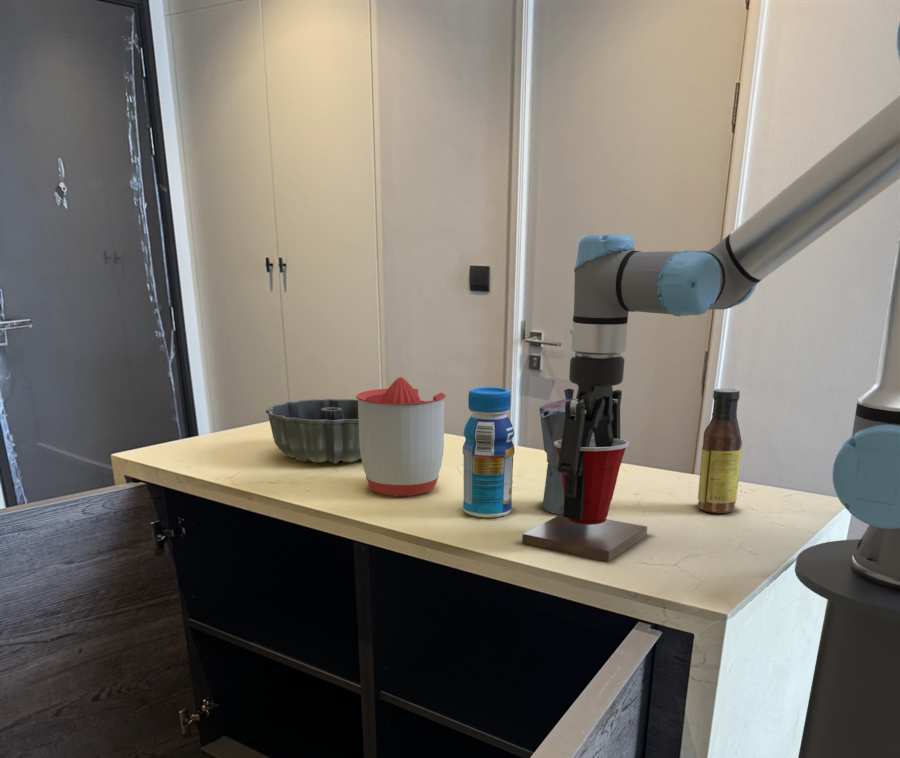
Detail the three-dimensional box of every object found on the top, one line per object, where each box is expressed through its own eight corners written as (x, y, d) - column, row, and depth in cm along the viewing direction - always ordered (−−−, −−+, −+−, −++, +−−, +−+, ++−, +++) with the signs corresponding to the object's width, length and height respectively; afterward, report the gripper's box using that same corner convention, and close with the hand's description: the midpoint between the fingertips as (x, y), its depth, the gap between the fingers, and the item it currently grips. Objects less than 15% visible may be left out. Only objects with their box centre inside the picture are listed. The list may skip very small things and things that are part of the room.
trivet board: (646, 535, 133) (647, 526, 132) (608, 561, 122) (609, 551, 121) (565, 520, 140) (565, 511, 139) (522, 543, 129) (522, 533, 128)
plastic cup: (601, 505, 136) (607, 430, 131) (636, 525, 126) (643, 444, 122) (538, 512, 133) (541, 434, 128) (569, 533, 123) (574, 450, 119)
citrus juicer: (469, 486, 159) (470, 375, 151) (402, 506, 147) (400, 387, 139) (409, 472, 168) (407, 367, 161) (341, 489, 157) (336, 377, 149)
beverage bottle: (451, 510, 145) (452, 389, 137) (490, 501, 150) (493, 384, 142) (483, 522, 139) (486, 396, 131) (522, 513, 143) (527, 391, 136)
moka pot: (517, 511, 144) (521, 390, 137) (571, 493, 155) (578, 379, 147) (564, 523, 138) (571, 396, 131) (617, 503, 149) (626, 385, 141)
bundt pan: (363, 437, 198) (361, 393, 194) (419, 461, 177) (418, 412, 173) (252, 450, 185) (248, 403, 182) (298, 477, 165) (295, 425, 161)
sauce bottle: (742, 510, 145) (759, 390, 137) (718, 517, 142) (734, 394, 134) (711, 502, 150) (725, 385, 142) (687, 507, 147) (700, 389, 139)
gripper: (605, 345, 130) (595, 490, 139) (536, 360, 114) (529, 523, 123) (652, 348, 127) (638, 497, 135) (588, 364, 110) (577, 533, 119)
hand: (586, 510), depth 129 cm, fingers closed on plastic cup, 9 cm apart
